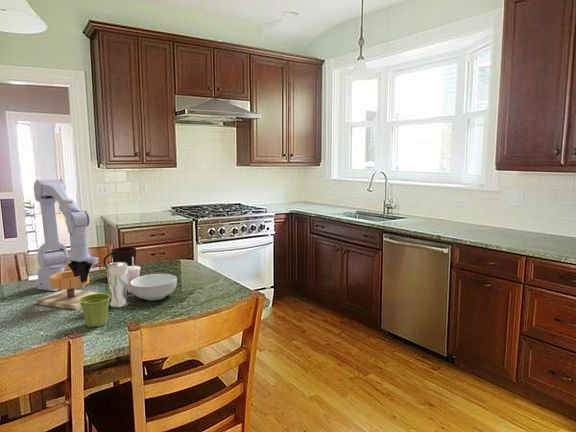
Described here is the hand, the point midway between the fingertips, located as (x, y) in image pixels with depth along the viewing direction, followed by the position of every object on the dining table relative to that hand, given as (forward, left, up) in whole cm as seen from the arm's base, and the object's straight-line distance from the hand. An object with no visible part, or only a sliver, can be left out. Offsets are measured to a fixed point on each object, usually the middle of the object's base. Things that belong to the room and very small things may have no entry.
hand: (81, 281), depth 156 cm
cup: (-10, +32, -8) cm, 34 cm away
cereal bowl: (+21, +13, -8) cm, 26 cm away
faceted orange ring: (-5, 0, -2) cm, 6 cm away
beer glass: (+14, +2, -8) cm, 17 cm away
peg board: (-6, 0, -8) cm, 10 cm away
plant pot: (+19, -15, -8) cm, 26 cm away
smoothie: (+9, +16, -8) cm, 20 cm away
